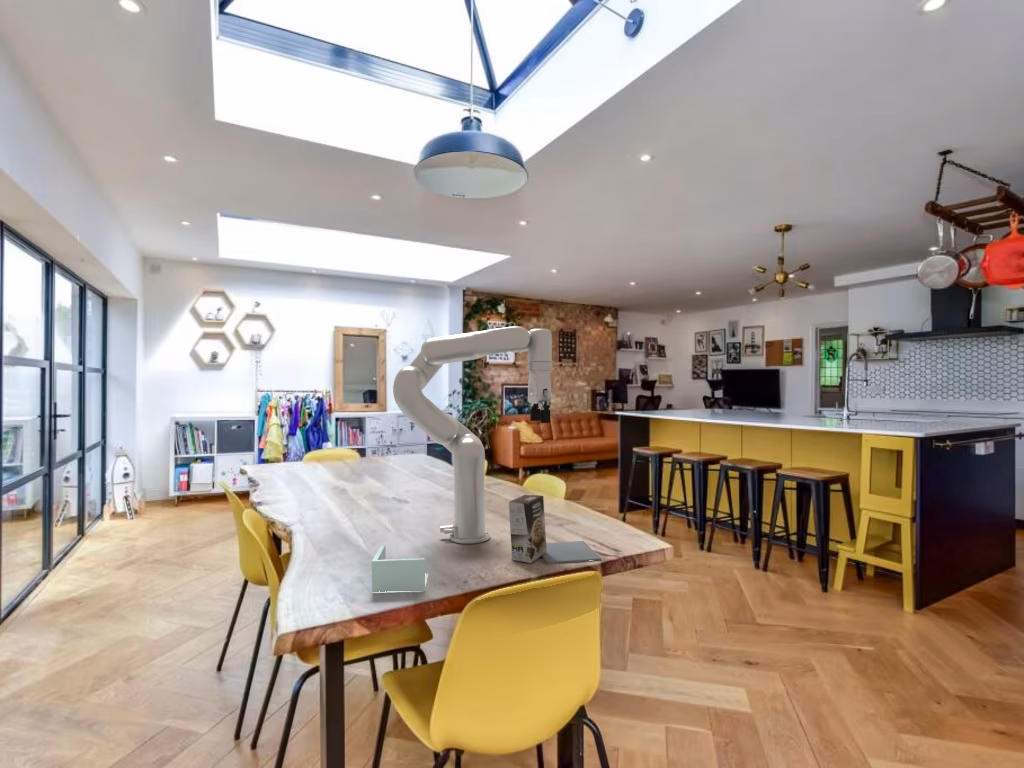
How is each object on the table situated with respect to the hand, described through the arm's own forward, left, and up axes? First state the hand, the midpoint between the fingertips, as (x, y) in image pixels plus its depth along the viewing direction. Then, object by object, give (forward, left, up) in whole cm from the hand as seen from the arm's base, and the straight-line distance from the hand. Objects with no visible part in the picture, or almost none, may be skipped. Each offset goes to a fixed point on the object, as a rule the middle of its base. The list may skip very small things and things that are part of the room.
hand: (540, 421), depth 161 cm
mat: (+3, -18, -36) cm, 40 cm away
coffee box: (-7, -20, -36) cm, 42 cm away
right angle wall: (-41, -32, -36) cm, 64 cm away
